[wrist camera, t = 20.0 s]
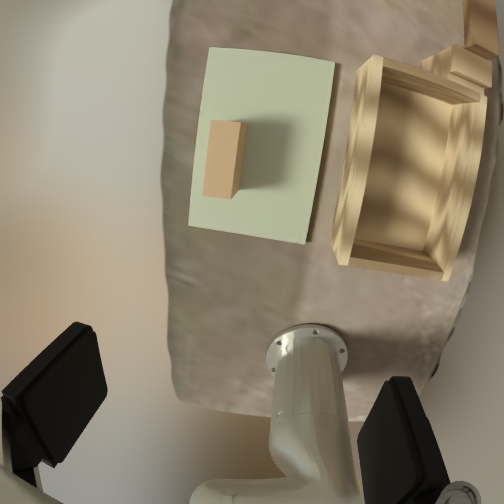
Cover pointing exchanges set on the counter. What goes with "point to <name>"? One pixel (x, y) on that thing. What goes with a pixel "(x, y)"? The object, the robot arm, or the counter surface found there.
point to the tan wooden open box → (411, 163)
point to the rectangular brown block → (481, 27)
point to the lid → (259, 142)
